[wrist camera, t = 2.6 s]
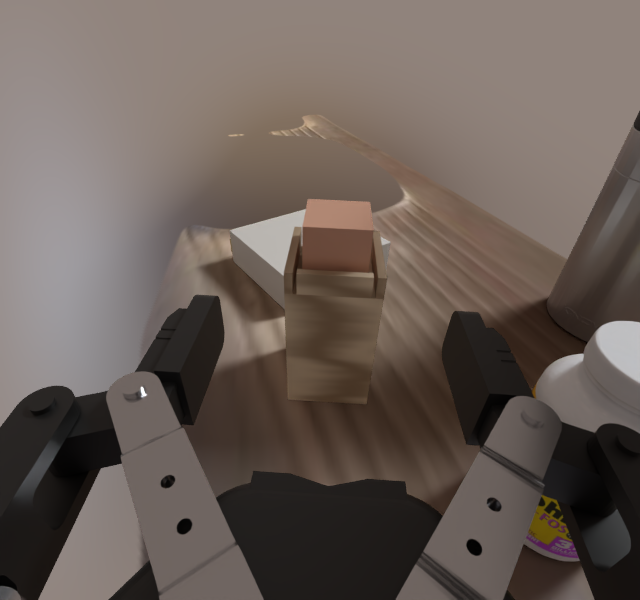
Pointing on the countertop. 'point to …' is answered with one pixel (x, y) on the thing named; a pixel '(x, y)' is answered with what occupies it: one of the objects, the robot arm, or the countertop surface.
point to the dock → (270, 251)
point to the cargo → (337, 236)
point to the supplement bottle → (587, 411)
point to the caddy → (331, 327)
